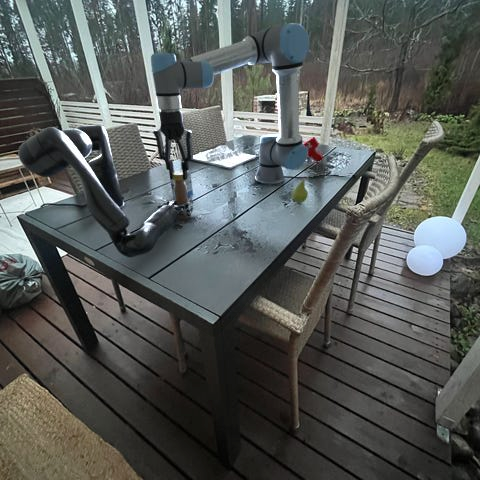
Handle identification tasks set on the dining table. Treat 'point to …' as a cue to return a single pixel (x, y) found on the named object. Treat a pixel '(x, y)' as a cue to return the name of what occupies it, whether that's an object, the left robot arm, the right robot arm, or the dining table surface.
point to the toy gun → (313, 149)
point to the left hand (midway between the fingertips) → (185, 200)
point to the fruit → (300, 192)
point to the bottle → (181, 195)
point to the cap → (177, 175)
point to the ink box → (187, 183)
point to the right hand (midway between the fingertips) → (179, 178)
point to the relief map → (223, 157)
